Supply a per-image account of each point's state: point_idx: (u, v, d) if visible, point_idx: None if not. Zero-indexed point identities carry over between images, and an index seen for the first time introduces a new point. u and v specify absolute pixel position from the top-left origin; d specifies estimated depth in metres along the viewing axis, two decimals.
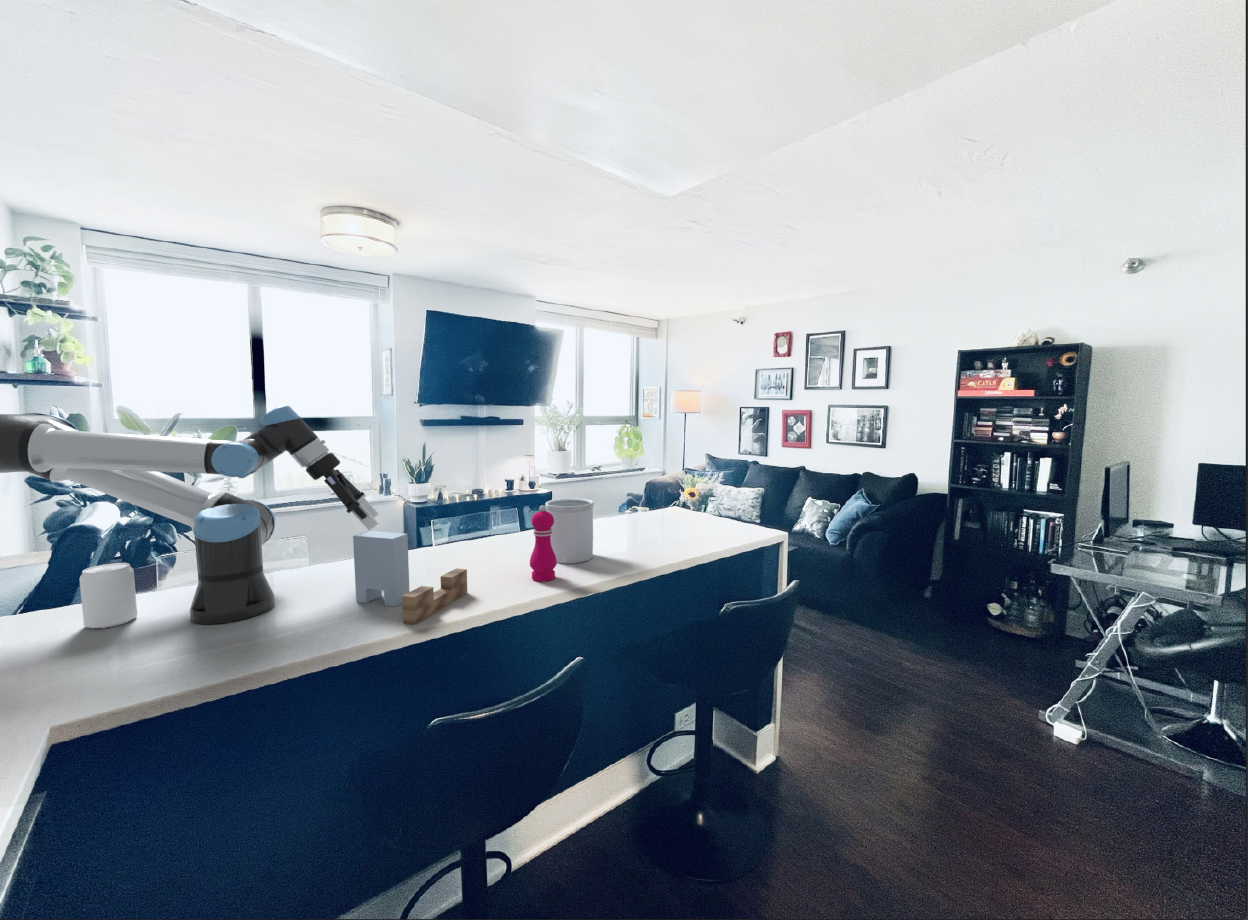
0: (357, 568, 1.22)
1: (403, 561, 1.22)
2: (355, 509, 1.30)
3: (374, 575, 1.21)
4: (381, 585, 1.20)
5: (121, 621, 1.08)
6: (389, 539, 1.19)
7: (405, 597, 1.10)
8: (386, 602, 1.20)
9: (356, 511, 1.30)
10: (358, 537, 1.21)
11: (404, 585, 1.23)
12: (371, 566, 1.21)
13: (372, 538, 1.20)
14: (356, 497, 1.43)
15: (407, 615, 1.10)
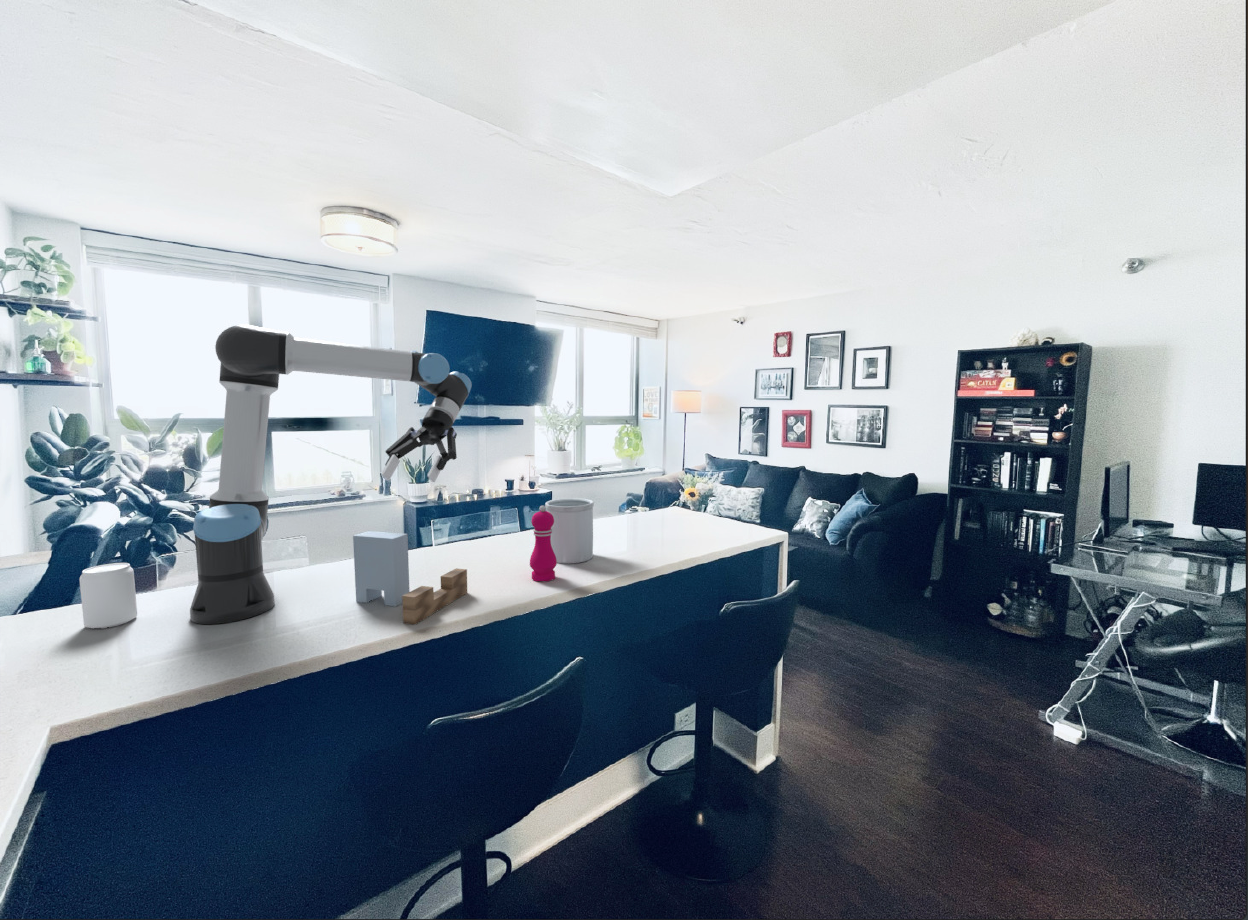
0: (357, 568, 1.22)
1: (403, 561, 1.22)
2: (446, 458, 1.33)
3: (374, 575, 1.21)
4: (381, 585, 1.20)
5: (121, 621, 1.08)
6: (389, 539, 1.19)
7: (405, 597, 1.10)
8: (386, 602, 1.20)
9: (444, 459, 1.32)
10: (358, 537, 1.21)
11: (404, 585, 1.23)
12: (371, 566, 1.21)
13: (372, 538, 1.20)
14: (396, 455, 1.37)
15: (407, 615, 1.10)
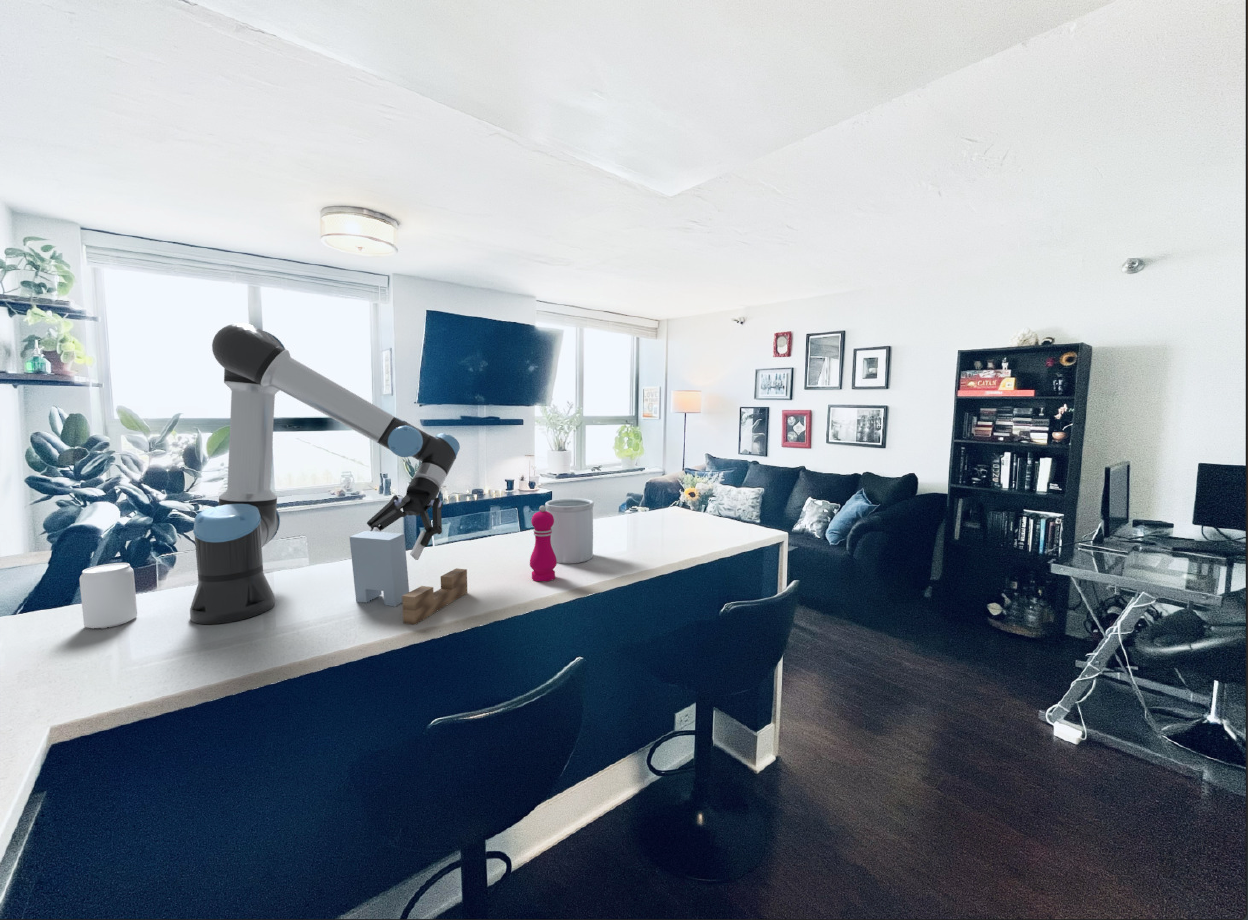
0: (355, 569, 1.21)
1: (401, 561, 1.21)
2: (430, 533, 1.26)
3: (372, 576, 1.20)
4: (380, 585, 1.20)
5: (121, 621, 1.08)
6: (386, 540, 1.18)
7: (405, 597, 1.10)
8: (386, 602, 1.20)
9: (429, 535, 1.25)
10: (355, 538, 1.20)
11: (403, 584, 1.22)
12: (369, 566, 1.20)
13: (369, 539, 1.19)
14: (378, 527, 1.30)
15: (407, 615, 1.10)
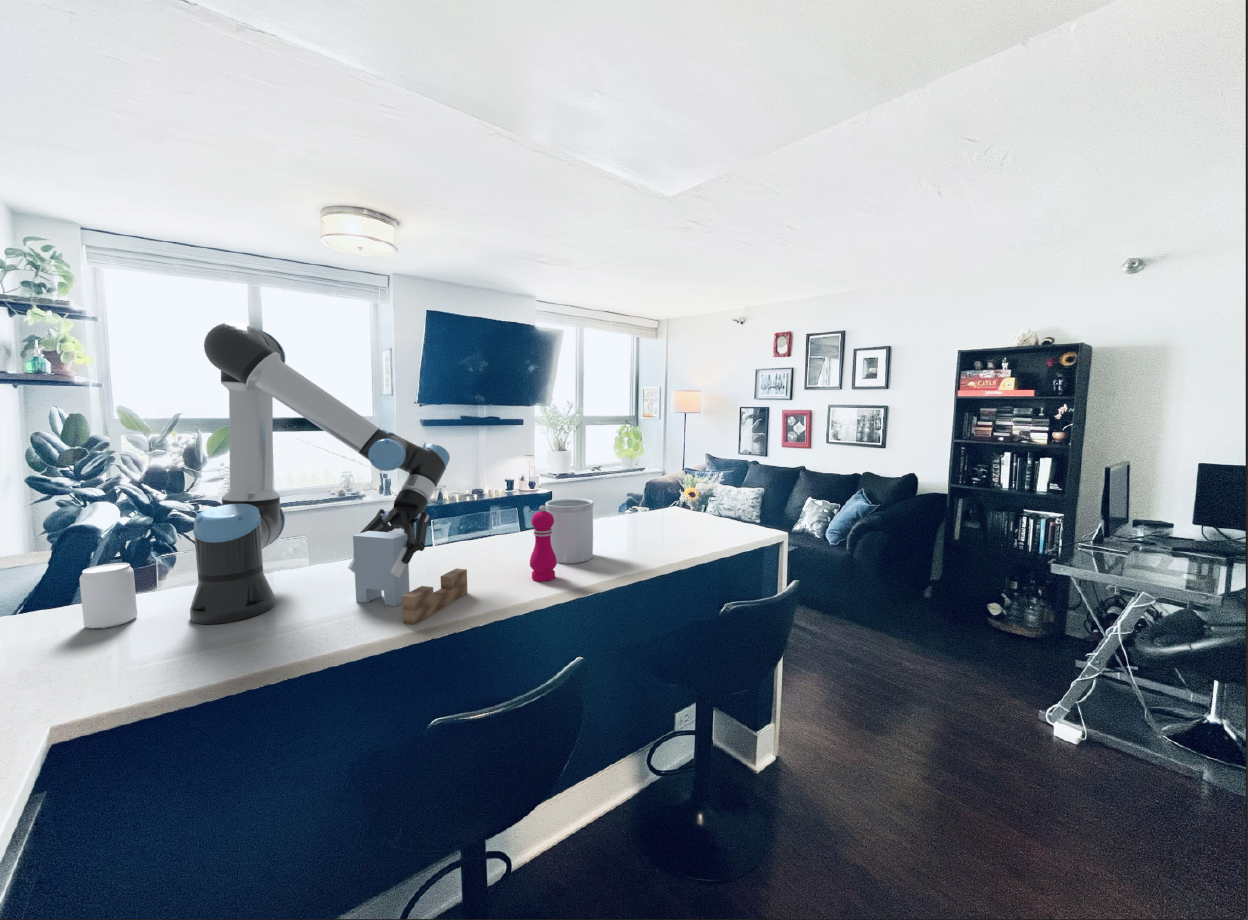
0: (357, 568, 1.22)
1: None
2: (412, 550, 1.22)
3: (373, 575, 1.21)
4: (381, 585, 1.20)
5: (121, 621, 1.08)
6: (389, 539, 1.19)
7: (405, 597, 1.10)
8: (386, 602, 1.20)
9: (410, 552, 1.22)
10: (358, 537, 1.21)
11: (404, 585, 1.23)
12: (371, 566, 1.21)
13: (372, 538, 1.20)
14: None
15: (407, 615, 1.10)
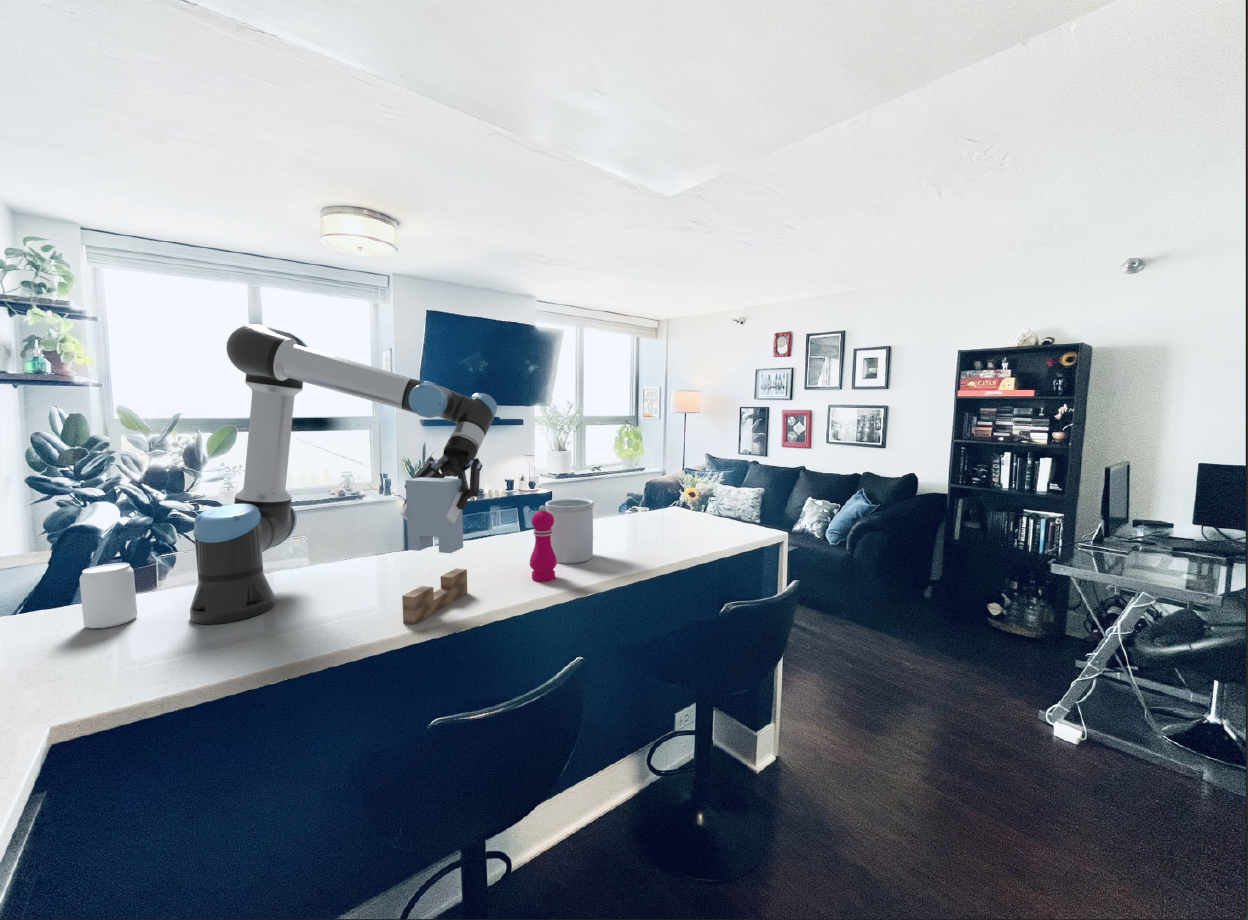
0: (409, 514, 1.17)
1: None
2: (467, 496, 1.17)
3: (427, 521, 1.16)
4: (435, 531, 1.15)
5: (121, 621, 1.08)
6: (444, 482, 1.14)
7: (405, 597, 1.10)
8: (441, 549, 1.15)
9: (465, 497, 1.17)
10: (411, 481, 1.16)
11: (458, 532, 1.18)
12: (425, 511, 1.16)
13: (426, 482, 1.15)
14: None
15: (407, 615, 1.10)
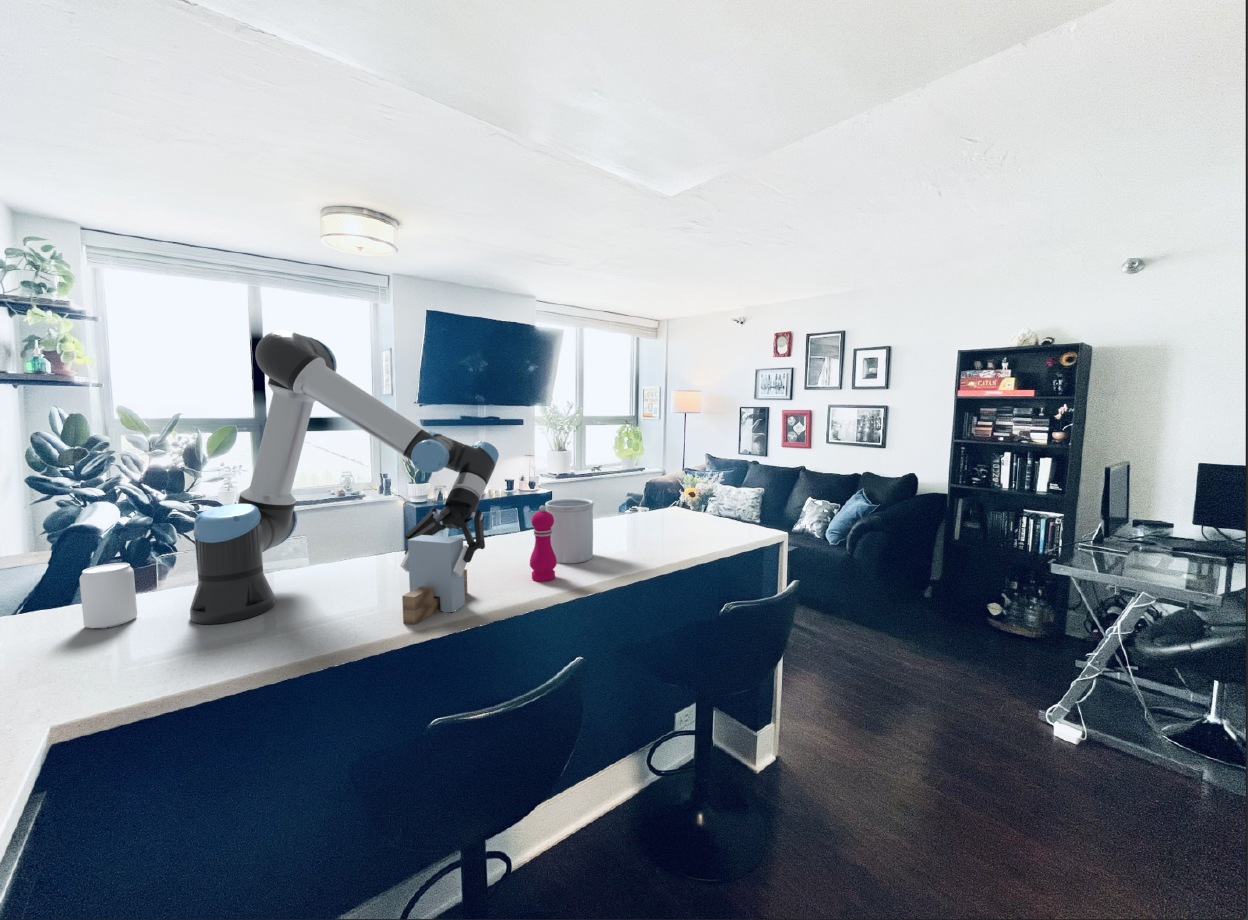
0: (412, 574, 1.18)
1: None
2: (473, 548, 1.18)
3: (429, 581, 1.17)
4: (437, 591, 1.17)
5: (121, 621, 1.08)
6: (446, 543, 1.15)
7: (405, 597, 1.10)
8: (442, 608, 1.17)
9: (472, 550, 1.18)
10: (413, 541, 1.17)
11: (460, 591, 1.19)
12: (427, 571, 1.17)
13: (428, 542, 1.16)
14: None
15: (407, 615, 1.10)
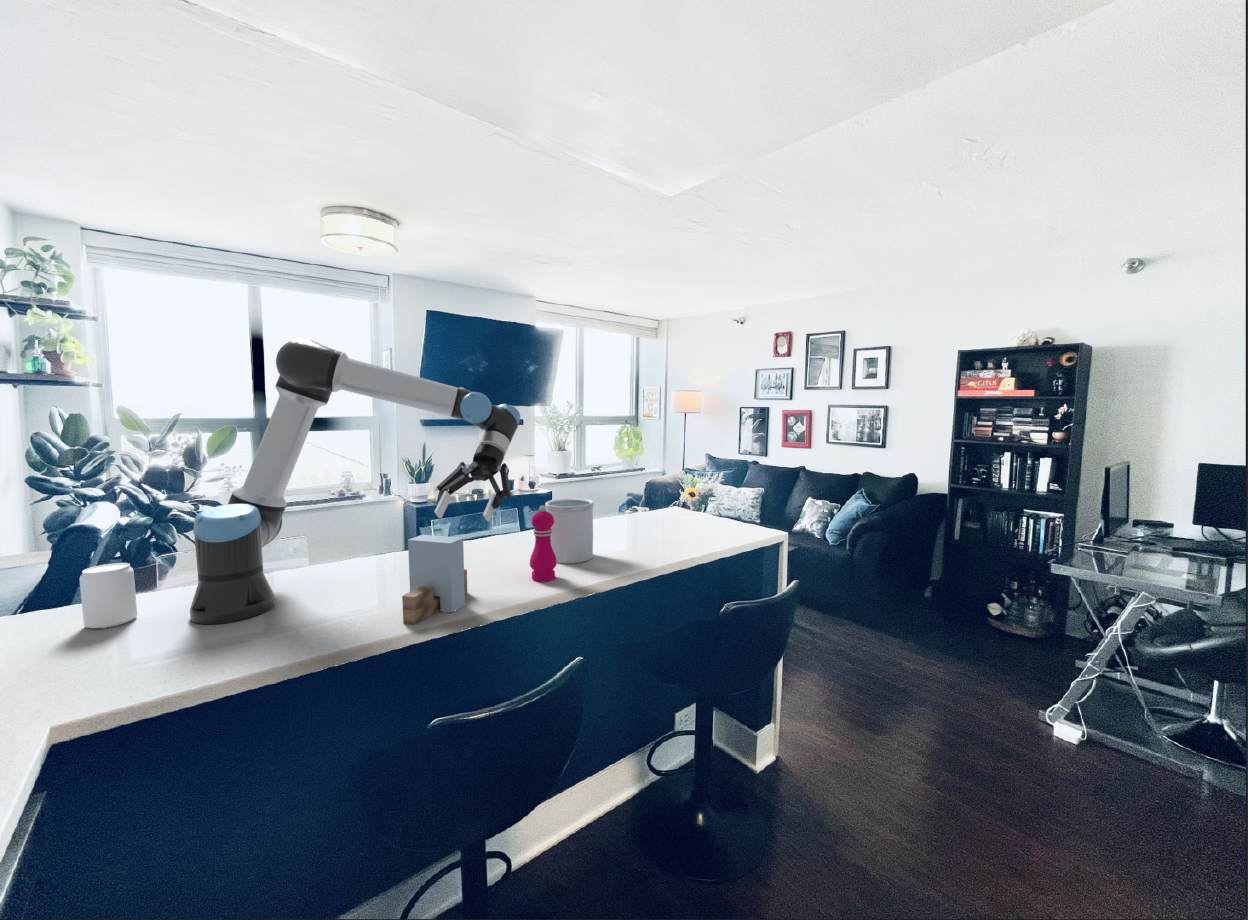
0: (412, 573, 1.18)
1: (459, 566, 1.18)
2: (500, 496, 1.30)
3: (429, 581, 1.17)
4: (437, 590, 1.17)
5: (121, 621, 1.08)
6: (446, 543, 1.15)
7: (405, 597, 1.10)
8: (442, 608, 1.17)
9: (499, 498, 1.29)
10: (413, 541, 1.17)
11: (460, 591, 1.19)
12: (427, 571, 1.17)
13: (428, 542, 1.16)
14: (447, 491, 1.34)
15: (407, 615, 1.10)
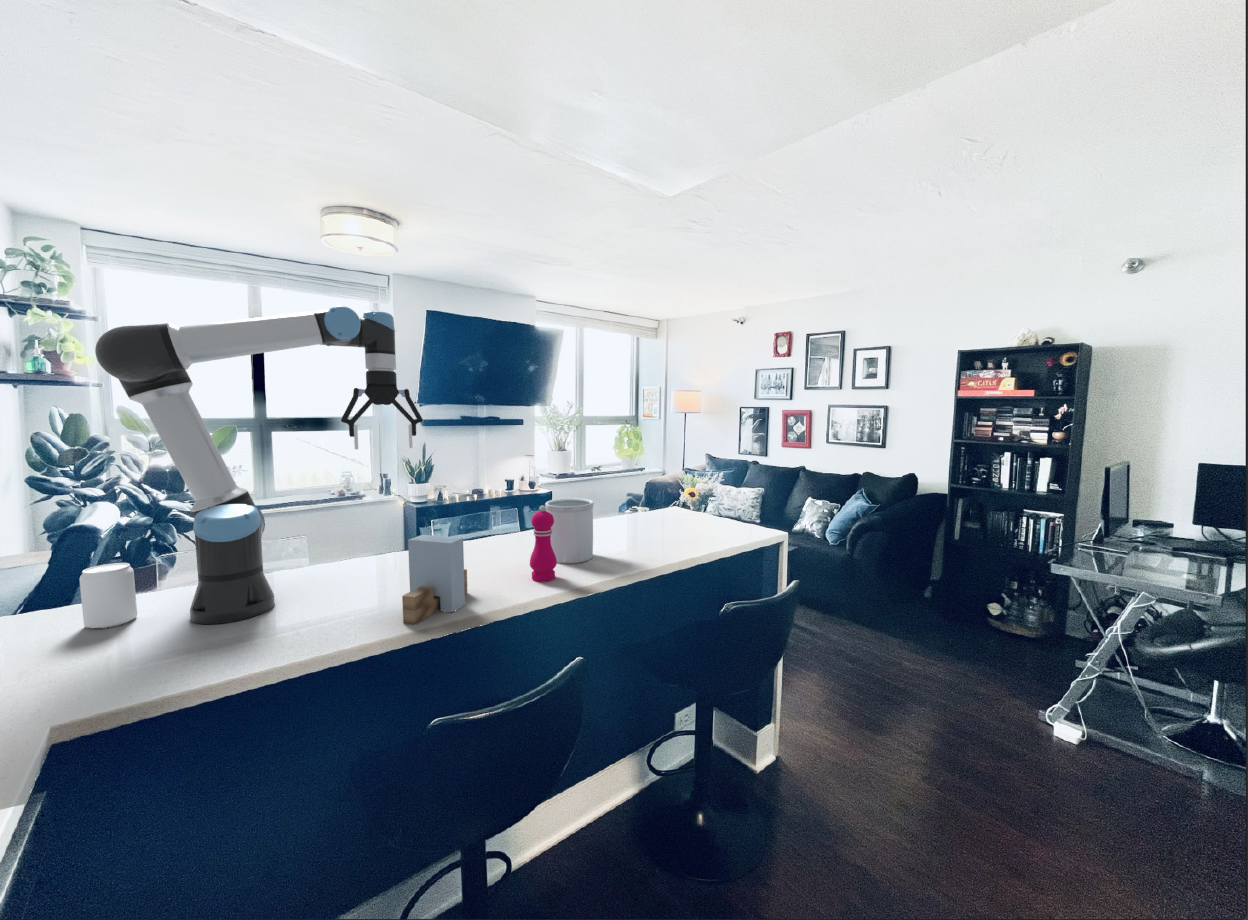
0: (412, 573, 1.18)
1: (459, 566, 1.18)
2: None
3: (429, 581, 1.17)
4: (437, 590, 1.17)
5: (121, 621, 1.08)
6: (446, 543, 1.15)
7: (405, 597, 1.10)
8: (442, 608, 1.17)
9: None
10: (413, 541, 1.17)
11: (460, 591, 1.19)
12: (427, 571, 1.17)
13: (428, 542, 1.16)
14: None
15: (407, 615, 1.10)
